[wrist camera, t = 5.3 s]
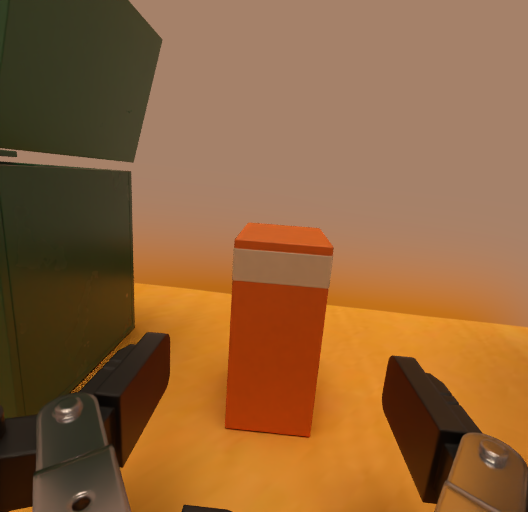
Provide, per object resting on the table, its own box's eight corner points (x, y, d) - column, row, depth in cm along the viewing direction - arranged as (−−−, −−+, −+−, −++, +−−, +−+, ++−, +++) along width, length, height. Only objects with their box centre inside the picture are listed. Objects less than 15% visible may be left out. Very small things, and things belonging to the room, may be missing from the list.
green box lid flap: (128, 160, 23) (133, 162, 23) (-21, 143, 12) (-10, 147, 12) (156, 37, 21) (162, 39, 21) (11, -125, 10) (24, -121, 10)
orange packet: (303, 374, 22) (320, 228, 20) (310, 437, 17) (334, 246, 14) (238, 368, 22) (247, 222, 20) (224, 428, 17) (234, 238, 14)
